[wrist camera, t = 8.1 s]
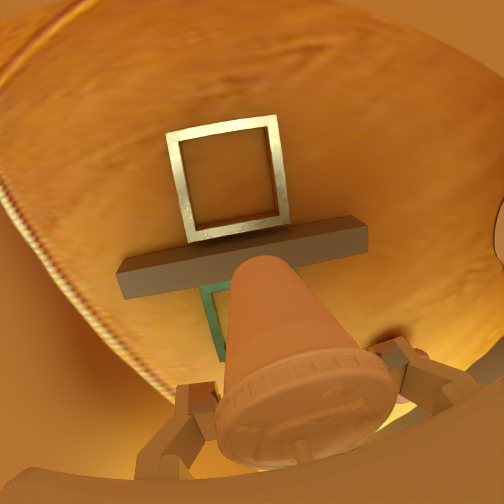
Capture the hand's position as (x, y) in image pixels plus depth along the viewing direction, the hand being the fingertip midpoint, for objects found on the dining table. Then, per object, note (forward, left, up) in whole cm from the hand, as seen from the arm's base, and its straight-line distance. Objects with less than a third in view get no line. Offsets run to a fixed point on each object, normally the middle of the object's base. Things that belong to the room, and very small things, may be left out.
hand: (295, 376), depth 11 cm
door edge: (0, +3, -23) cm, 23 cm away
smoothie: (0, -1, -7) cm, 7 cm away
